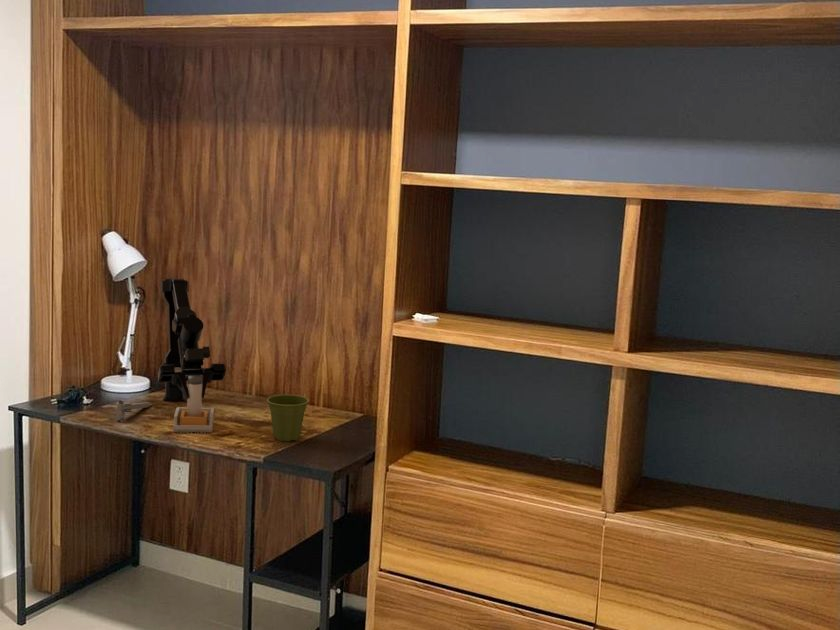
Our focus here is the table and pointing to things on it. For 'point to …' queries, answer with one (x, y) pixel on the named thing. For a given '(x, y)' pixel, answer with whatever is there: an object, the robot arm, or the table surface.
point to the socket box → (193, 421)
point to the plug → (194, 396)
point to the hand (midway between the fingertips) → (195, 397)
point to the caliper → (128, 408)
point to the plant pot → (287, 415)
